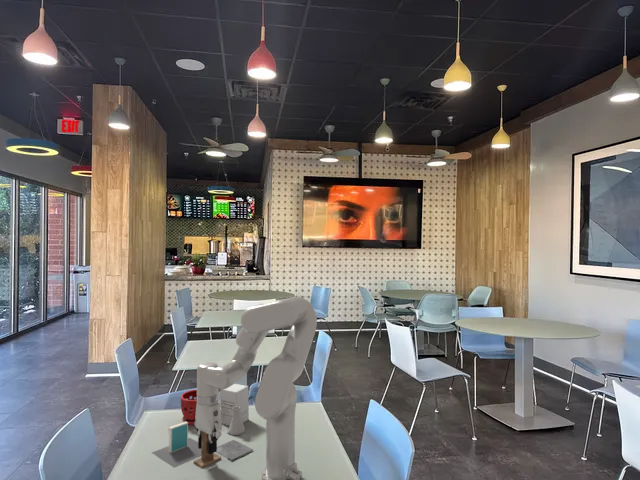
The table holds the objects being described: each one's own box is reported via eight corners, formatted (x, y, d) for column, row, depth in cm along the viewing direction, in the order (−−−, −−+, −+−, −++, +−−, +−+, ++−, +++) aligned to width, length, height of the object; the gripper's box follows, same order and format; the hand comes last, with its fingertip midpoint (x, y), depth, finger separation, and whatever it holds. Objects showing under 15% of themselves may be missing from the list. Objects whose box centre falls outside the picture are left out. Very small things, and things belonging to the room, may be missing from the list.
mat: (213, 451, 155) (213, 450, 155) (174, 468, 143) (174, 467, 143) (190, 438, 166) (190, 437, 166) (151, 453, 153) (151, 452, 153)
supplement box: (233, 416, 188) (233, 382, 189) (249, 419, 184) (249, 385, 185) (219, 423, 180) (219, 388, 180) (236, 427, 176) (236, 392, 176)
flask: (241, 436, 167) (241, 411, 168) (224, 435, 169) (224, 410, 169) (247, 429, 175) (247, 405, 175) (231, 427, 176) (231, 403, 176)
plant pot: (175, 421, 183) (175, 393, 183) (203, 413, 192) (203, 387, 192) (188, 430, 173) (188, 401, 173) (216, 421, 182) (216, 394, 182)
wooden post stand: (221, 460, 149) (221, 417, 149) (201, 469, 143) (201, 424, 143) (212, 455, 152) (213, 414, 152) (193, 464, 146) (193, 420, 146)
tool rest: (253, 451, 155) (253, 449, 155) (231, 461, 148) (231, 459, 148) (233, 441, 163) (233, 439, 163) (211, 450, 156) (211, 449, 156)
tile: (188, 446, 158) (188, 422, 158) (171, 453, 153) (171, 428, 153) (185, 445, 159) (185, 421, 160) (168, 451, 154) (168, 427, 154)
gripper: (231, 401, 145) (230, 453, 145) (203, 390, 156) (202, 439, 156) (212, 407, 139) (212, 462, 139) (185, 396, 151) (184, 446, 150)
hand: (207, 449), depth 147 cm, fingers open, 5 cm apart
